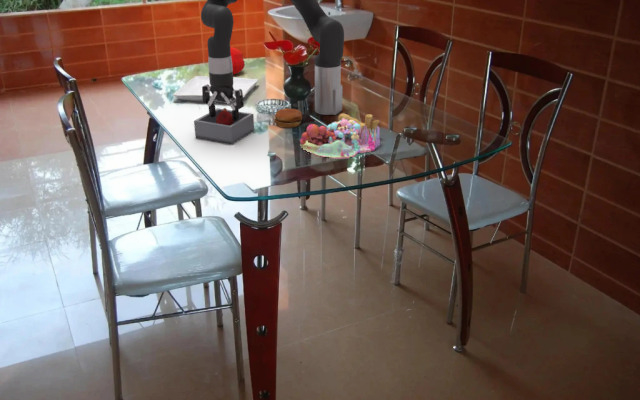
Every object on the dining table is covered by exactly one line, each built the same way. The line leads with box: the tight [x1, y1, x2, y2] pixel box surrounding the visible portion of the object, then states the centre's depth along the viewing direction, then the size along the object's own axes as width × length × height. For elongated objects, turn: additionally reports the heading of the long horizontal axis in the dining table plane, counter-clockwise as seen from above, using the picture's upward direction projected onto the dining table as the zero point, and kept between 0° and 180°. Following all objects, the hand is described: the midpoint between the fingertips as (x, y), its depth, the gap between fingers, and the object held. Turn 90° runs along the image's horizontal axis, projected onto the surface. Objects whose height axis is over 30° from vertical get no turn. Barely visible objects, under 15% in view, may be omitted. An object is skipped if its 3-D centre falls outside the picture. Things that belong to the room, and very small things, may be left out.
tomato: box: [230, 46, 246, 76], centre depth 277 cm, size 13×13×13 cm
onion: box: [216, 107, 234, 126], centre depth 211 cm, size 6×6×8 cm
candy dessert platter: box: [299, 112, 381, 160], centre depth 203 cm, size 25×24×9 cm
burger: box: [273, 107, 303, 129], centre depth 222 cm, size 10×10×5 cm
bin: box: [193, 107, 255, 146], centre depth 212 cm, size 14×14×6 cm
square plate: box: [172, 75, 260, 104], centre depth 252 cm, size 27×27×4 cm
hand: (224, 118), depth 210 cm, fingers open, 8 cm apart
